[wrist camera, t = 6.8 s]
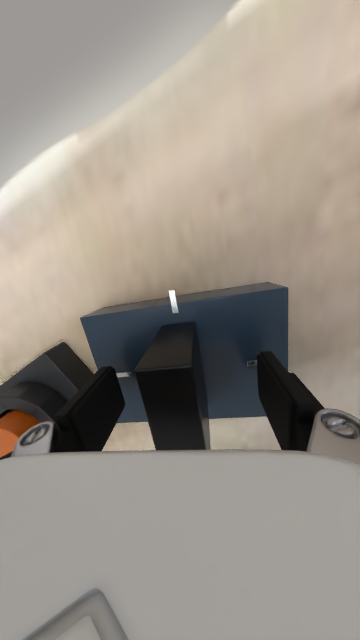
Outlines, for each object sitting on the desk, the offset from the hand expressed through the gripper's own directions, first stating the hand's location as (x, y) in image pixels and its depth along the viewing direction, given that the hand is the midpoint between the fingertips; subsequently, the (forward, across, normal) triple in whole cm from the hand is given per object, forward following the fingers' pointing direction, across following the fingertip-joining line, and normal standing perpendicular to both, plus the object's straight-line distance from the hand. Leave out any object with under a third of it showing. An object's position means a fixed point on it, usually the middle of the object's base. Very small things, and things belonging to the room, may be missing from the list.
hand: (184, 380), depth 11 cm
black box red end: (+1, 0, 0) cm, 1 cm away
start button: (+1, +14, +4) cm, 15 cm away
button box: (+4, +14, +4) cm, 15 cm away
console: (+4, 0, 0) cm, 4 cm away
